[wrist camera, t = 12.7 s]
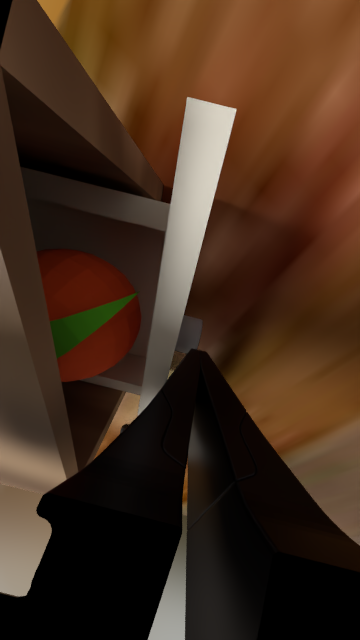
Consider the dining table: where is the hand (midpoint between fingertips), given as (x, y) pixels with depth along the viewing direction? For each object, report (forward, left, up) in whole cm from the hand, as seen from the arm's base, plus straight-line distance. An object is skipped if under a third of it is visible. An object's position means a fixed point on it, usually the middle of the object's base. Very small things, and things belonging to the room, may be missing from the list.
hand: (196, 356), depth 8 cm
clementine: (0, +6, -5) cm, 8 cm away
